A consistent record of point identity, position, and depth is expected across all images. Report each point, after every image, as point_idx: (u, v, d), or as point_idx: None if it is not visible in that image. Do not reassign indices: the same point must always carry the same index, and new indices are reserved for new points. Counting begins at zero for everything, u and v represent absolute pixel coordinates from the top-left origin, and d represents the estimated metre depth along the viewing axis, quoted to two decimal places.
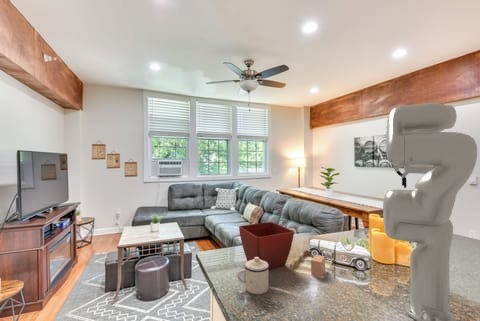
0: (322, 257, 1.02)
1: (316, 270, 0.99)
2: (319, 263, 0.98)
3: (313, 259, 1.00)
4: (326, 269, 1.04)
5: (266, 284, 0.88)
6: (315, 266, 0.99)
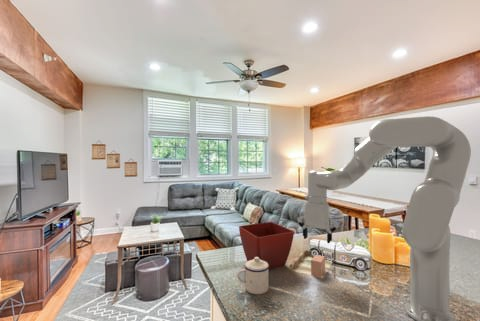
0: (322, 257, 1.02)
1: (316, 270, 0.99)
2: (319, 263, 0.98)
3: (313, 259, 1.00)
4: (326, 269, 1.04)
5: (266, 284, 0.88)
6: (315, 266, 0.99)
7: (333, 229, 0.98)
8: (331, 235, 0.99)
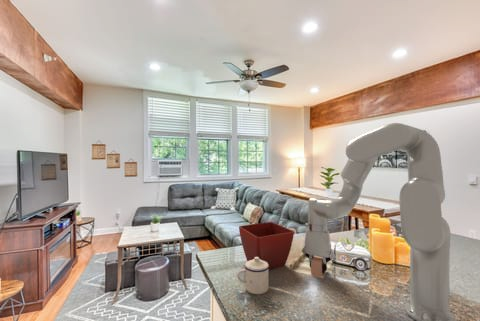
0: None
1: (316, 270, 0.99)
2: (319, 263, 0.98)
3: (313, 259, 1.00)
4: None
5: (266, 284, 0.88)
6: (315, 266, 0.99)
7: (328, 259, 0.99)
8: (326, 265, 1.00)
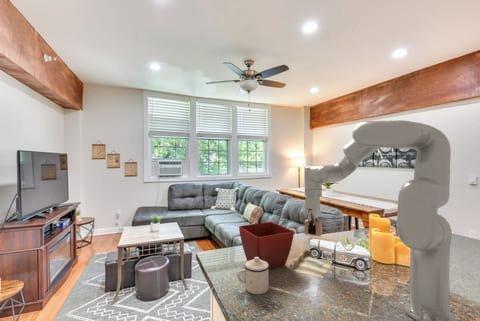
0: (316, 222, 1.09)
1: None
2: None
3: None
4: (326, 269, 1.04)
5: (266, 284, 0.88)
6: None
7: None
8: (311, 228, 1.08)
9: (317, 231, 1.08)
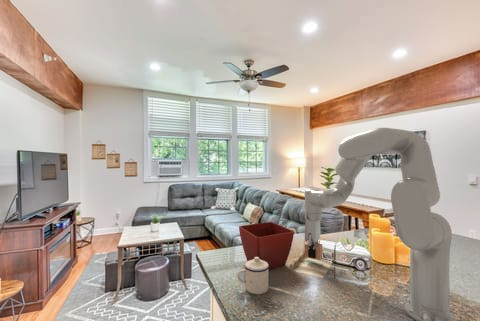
0: (316, 245, 1.09)
1: None
2: None
3: None
4: (326, 269, 1.04)
5: (266, 284, 0.88)
6: None
7: None
8: (311, 251, 1.08)
9: (317, 255, 1.08)
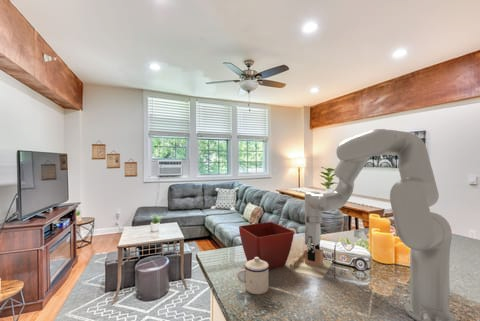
0: (316, 251, 1.08)
1: None
2: None
3: None
4: (326, 269, 1.04)
5: (266, 284, 0.88)
6: None
7: None
8: (311, 254, 1.06)
9: (317, 261, 1.08)
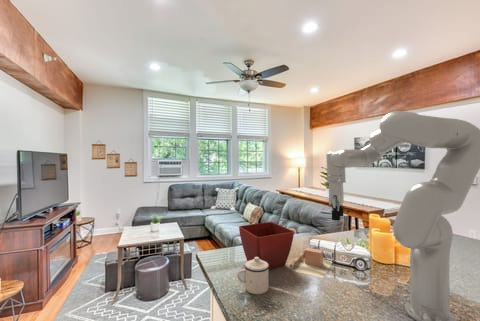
0: (316, 251, 1.08)
1: None
2: None
3: (309, 248, 1.13)
4: (326, 269, 1.04)
5: (266, 284, 0.88)
6: None
7: None
8: (335, 213, 1.01)
9: (317, 261, 1.08)
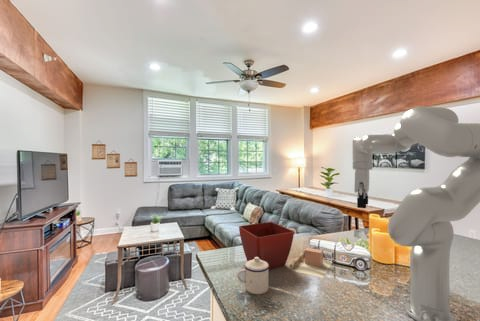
0: (316, 251, 1.08)
1: None
2: None
3: (309, 248, 1.13)
4: (326, 269, 1.04)
5: (266, 284, 0.88)
6: None
7: None
8: (361, 201, 0.98)
9: (317, 261, 1.08)
